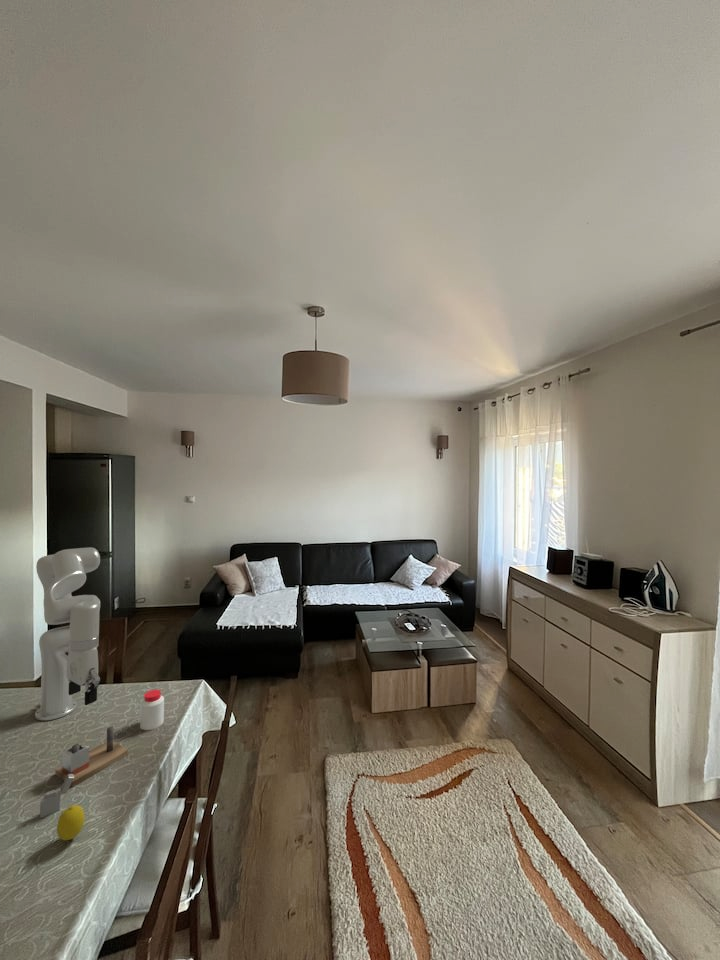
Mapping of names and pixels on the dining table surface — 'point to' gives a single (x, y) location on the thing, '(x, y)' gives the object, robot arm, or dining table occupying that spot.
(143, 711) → the pill bottle
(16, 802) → the dining table surface
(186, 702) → the dining table surface
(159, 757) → the dining table surface
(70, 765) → the sleeve
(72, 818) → the lemon
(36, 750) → the dining table surface
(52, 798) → the grey flat piece
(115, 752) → the pin board
